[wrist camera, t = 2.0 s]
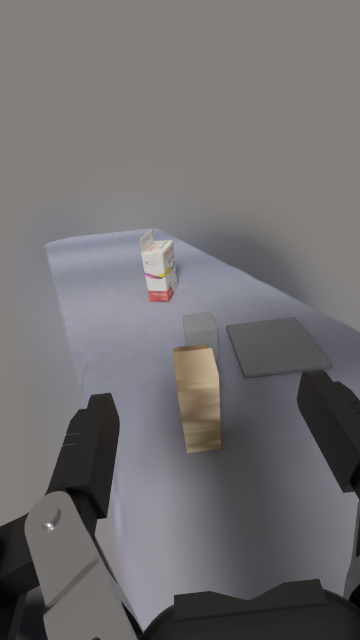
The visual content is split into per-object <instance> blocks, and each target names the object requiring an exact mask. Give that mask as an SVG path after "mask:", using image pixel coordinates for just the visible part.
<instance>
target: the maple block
mask: <svg viewBox="0 0 360 640" xmlns="http://www.w3.org/2000/svg"><path fill="white" fill-rule="evenodd" d="M174 363H175V378H176V386H177V392H178V399H179V405H180V411H181V417H182V424H183V430H184V436H185V443H186V449H187V453H195V452H204V451H212V450H221V424H220V394H219V374H218V370H217V366H216V362H215V358H214V354H213V351H212V348H207V349H199V350H191V351H182V352H174Z"/></svg>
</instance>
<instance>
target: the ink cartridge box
mask: <svg viewBox="0 0 360 640" xmlns="http://www.w3.org/2000/svg"><path fill="white" fill-rule="evenodd" d="M147 237H150V239H149V240H148V241H147V242H146V239H147ZM140 244H141V255H142V260H143V266H144V271H145V277H146V282H147V287H148V292H149V298H150V301H163V302H169V300H170V298H171V297H172V295H173V293H174V291H175V290H176V288H177V286H178V284H177V276H176V267H175V257H174V248H173V241H154V230H153V229H151V230H150V231H149V232H147V233H146V234H145V235H144V236H143V237H141V239H140Z"/></svg>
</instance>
